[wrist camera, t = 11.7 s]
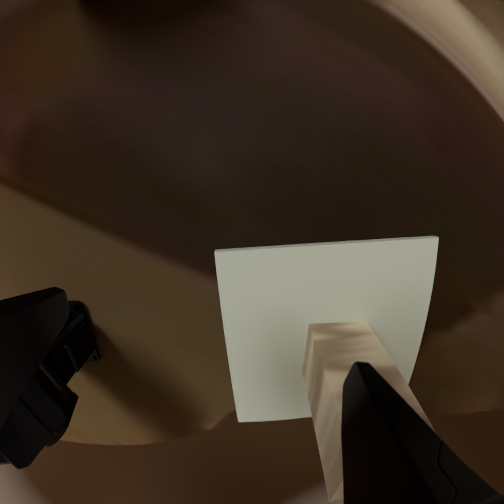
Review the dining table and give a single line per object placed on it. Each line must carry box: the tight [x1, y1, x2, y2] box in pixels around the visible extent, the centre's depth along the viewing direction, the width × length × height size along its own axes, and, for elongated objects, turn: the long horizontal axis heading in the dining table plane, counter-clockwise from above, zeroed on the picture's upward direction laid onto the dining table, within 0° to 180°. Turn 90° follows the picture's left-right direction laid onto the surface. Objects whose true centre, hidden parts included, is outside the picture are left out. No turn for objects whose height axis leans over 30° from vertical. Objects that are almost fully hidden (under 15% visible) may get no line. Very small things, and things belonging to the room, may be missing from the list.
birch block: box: [302, 321, 436, 502], centre depth 16 cm, size 5×5×13 cm
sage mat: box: [214, 236, 439, 422], centre depth 23 cm, size 18×18×1 cm
